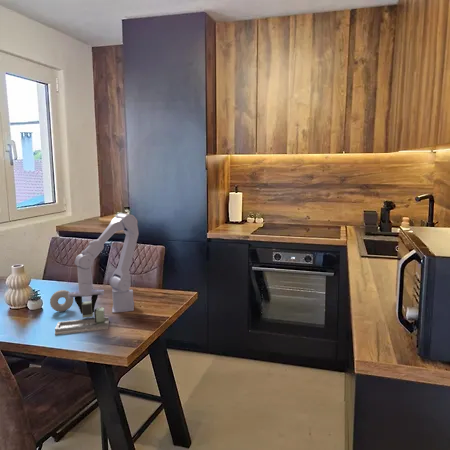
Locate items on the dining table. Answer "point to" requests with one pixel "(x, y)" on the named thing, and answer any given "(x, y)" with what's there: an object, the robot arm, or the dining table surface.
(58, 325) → the tray
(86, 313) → the pale green cuboid
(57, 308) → the donut
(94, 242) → the robot arm
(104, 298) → the dining table surface
